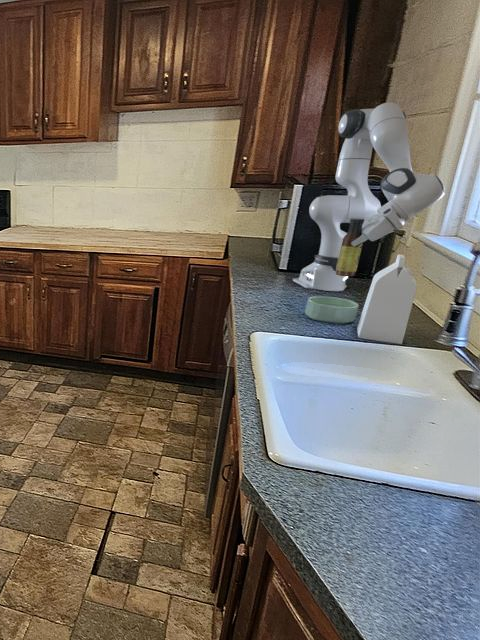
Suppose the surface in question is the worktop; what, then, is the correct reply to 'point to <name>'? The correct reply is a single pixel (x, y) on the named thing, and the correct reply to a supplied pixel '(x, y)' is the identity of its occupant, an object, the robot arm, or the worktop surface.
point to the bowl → (331, 309)
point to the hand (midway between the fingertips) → (350, 243)
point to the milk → (388, 304)
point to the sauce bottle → (350, 250)
